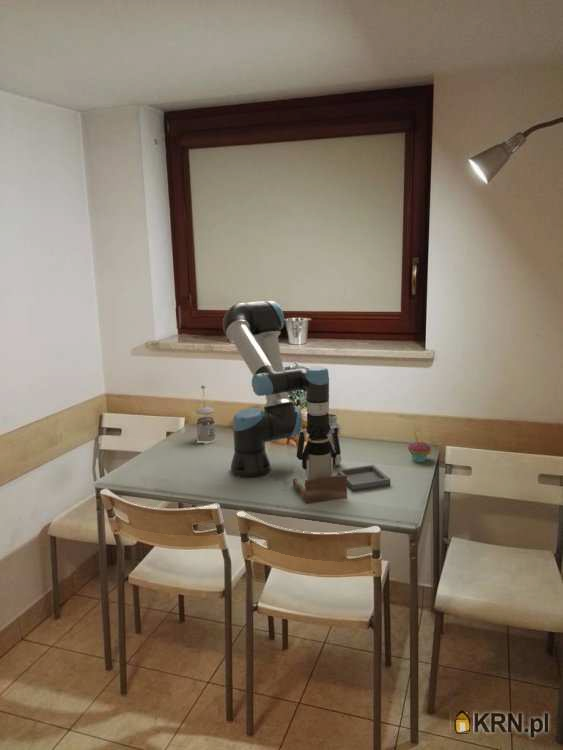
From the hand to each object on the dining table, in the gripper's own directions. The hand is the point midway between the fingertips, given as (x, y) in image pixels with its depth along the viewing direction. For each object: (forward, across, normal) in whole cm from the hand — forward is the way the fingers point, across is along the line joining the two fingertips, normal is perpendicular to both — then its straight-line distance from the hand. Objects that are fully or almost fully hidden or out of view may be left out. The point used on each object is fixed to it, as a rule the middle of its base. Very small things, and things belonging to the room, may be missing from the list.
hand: (319, 475), depth 212 cm
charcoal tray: (+6, +18, +4) cm, 19 cm away
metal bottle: (+6, +13, +22) cm, 26 cm away
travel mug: (+4, 0, 0) cm, 4 cm away
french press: (+7, -28, +68) cm, 74 cm away
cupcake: (+6, +47, +15) cm, 49 cm away
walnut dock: (+6, 0, 0) cm, 6 cm away
